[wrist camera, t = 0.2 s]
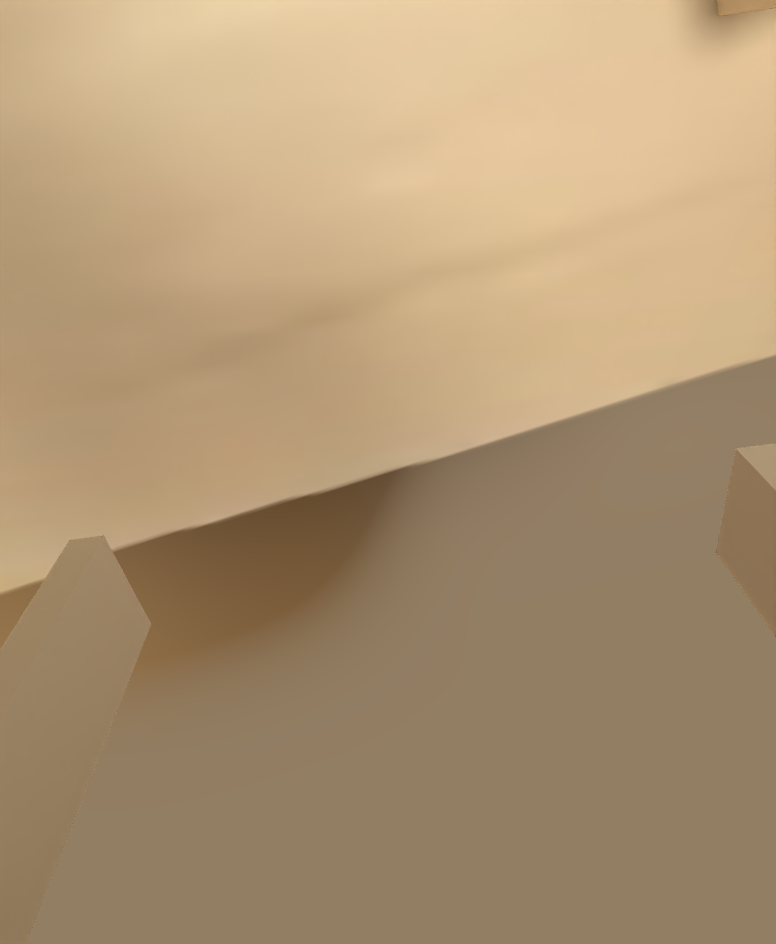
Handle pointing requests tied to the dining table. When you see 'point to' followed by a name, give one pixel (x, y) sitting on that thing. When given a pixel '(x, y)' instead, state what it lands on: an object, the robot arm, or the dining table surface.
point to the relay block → (743, 6)
